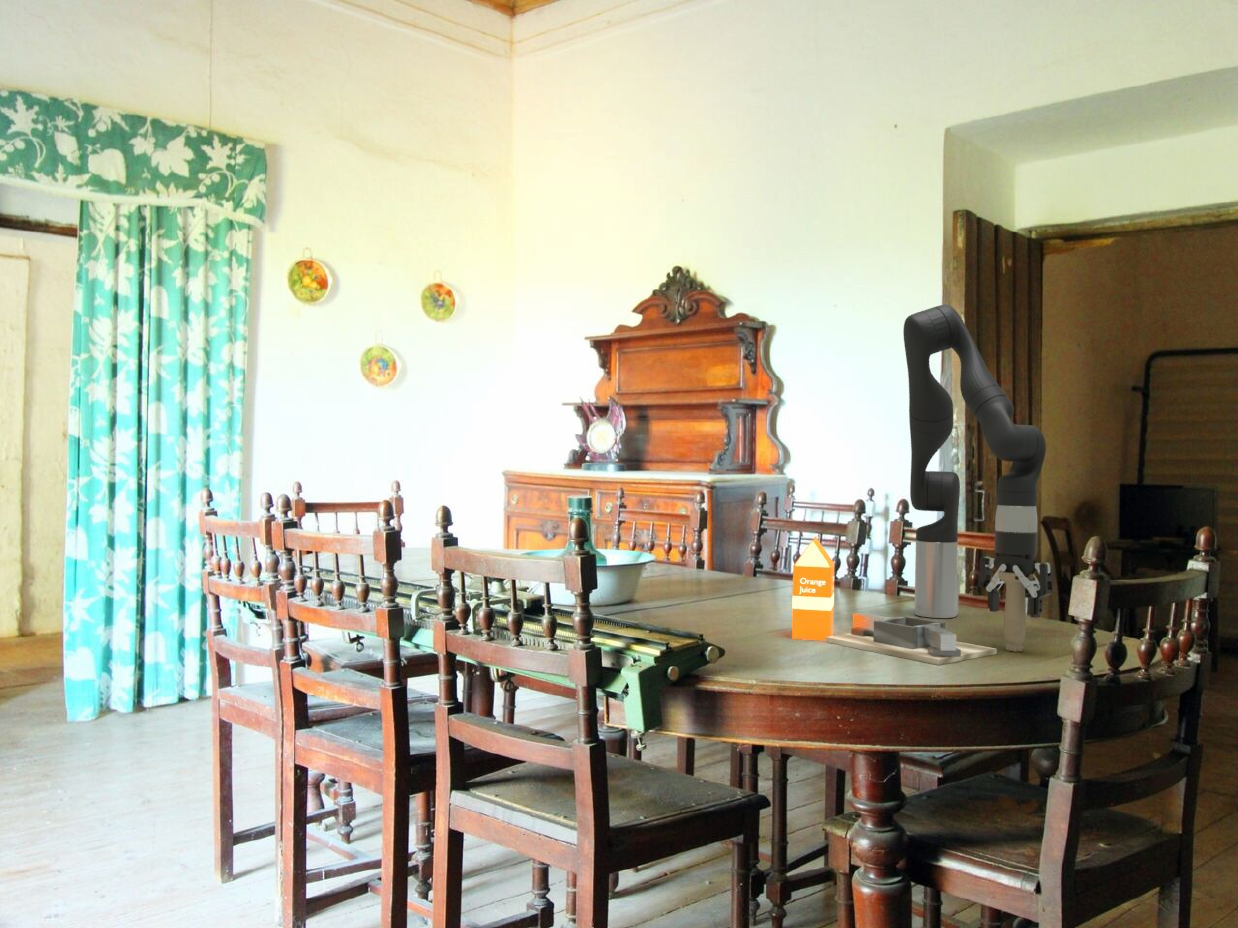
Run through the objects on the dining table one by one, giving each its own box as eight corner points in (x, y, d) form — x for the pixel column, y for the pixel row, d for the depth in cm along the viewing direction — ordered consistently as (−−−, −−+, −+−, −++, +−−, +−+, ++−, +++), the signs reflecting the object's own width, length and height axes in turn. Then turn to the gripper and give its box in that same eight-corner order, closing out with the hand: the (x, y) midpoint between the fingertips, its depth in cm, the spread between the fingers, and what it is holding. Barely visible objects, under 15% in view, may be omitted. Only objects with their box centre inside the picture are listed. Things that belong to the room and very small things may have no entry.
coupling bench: (883, 632, 214) (884, 608, 214) (996, 653, 193) (997, 627, 193) (825, 641, 203) (826, 616, 203) (938, 665, 182) (939, 636, 182)
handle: (995, 647, 200) (997, 569, 200) (1031, 649, 198) (1032, 571, 198) (997, 651, 196) (998, 572, 195) (1033, 654, 194) (1035, 574, 194)
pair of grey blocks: (865, 631, 210) (865, 611, 210) (979, 652, 189) (980, 631, 189) (832, 636, 203) (832, 616, 203) (947, 659, 183) (947, 636, 183)
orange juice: (833, 633, 213) (835, 536, 212) (830, 640, 204) (832, 540, 204) (795, 631, 215) (797, 535, 215) (790, 638, 206) (792, 538, 206)
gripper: (1061, 531, 193) (1060, 617, 193) (993, 526, 205) (992, 607, 205) (1040, 532, 189) (1038, 621, 189) (971, 527, 200) (969, 610, 200)
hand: (1014, 614), depth 197 cm, fingers open, 8 cm apart
